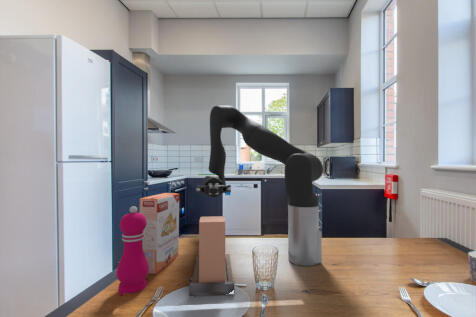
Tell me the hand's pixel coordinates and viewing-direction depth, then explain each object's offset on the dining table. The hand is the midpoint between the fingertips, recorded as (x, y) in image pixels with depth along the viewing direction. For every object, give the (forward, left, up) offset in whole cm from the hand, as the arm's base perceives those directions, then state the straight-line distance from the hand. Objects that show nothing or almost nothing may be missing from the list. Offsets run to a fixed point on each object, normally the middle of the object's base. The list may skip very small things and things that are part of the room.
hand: (213, 191), depth 83 cm
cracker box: (+16, +6, -21) cm, 27 cm away
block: (0, +21, -20) cm, 29 cm away
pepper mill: (+19, +20, -21) cm, 35 cm away
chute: (0, +15, -21) cm, 26 cm away
